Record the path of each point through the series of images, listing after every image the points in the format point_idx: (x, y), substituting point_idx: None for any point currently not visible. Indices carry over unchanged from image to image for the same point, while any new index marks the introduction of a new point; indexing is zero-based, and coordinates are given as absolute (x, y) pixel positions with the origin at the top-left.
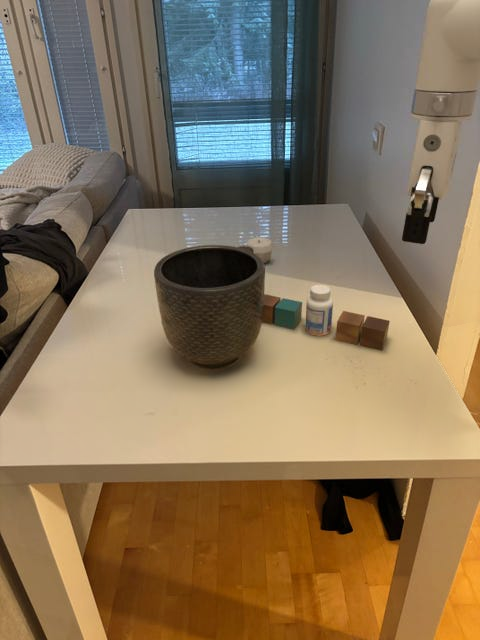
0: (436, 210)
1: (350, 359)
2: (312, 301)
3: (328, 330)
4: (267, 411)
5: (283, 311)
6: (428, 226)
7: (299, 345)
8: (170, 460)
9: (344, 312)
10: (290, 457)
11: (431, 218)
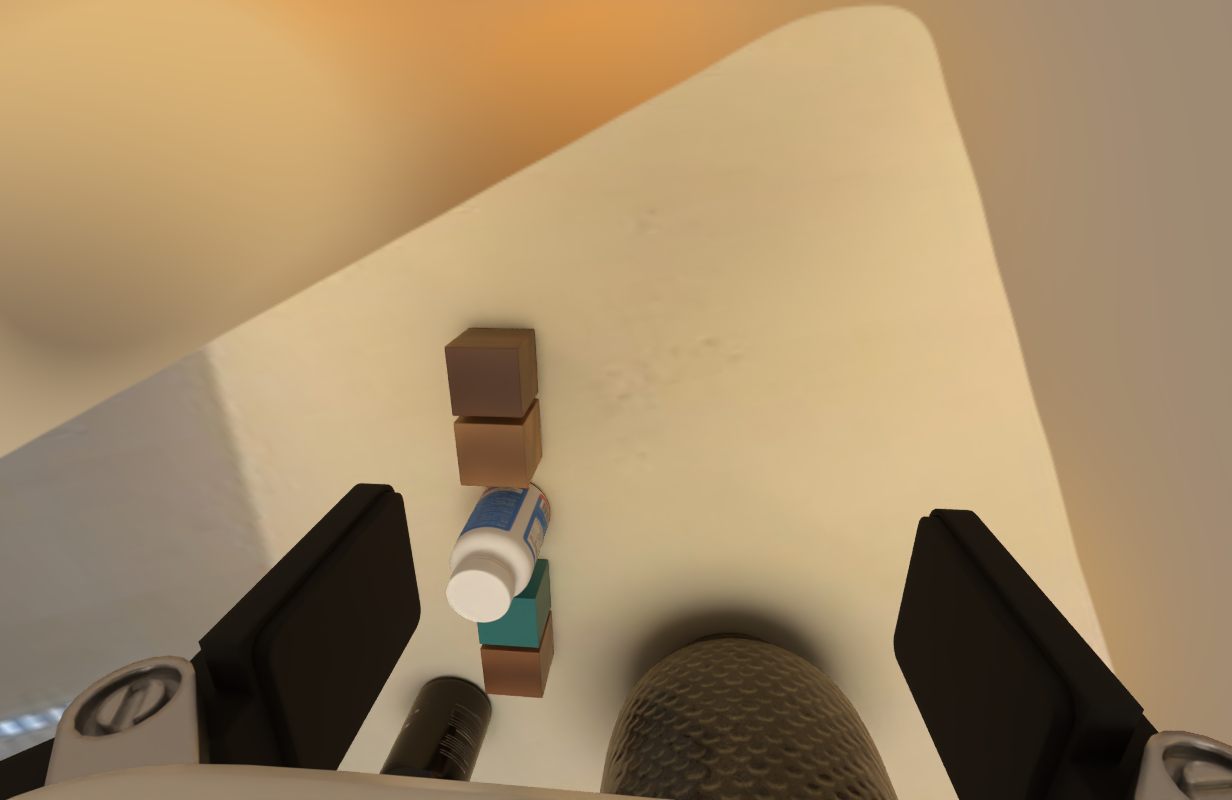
0: (313, 534)
1: (616, 399)
2: (517, 587)
3: None
4: (900, 521)
5: (539, 621)
6: (1062, 616)
7: (611, 529)
8: (1101, 633)
9: (469, 480)
10: (1041, 435)
11: (390, 519)
